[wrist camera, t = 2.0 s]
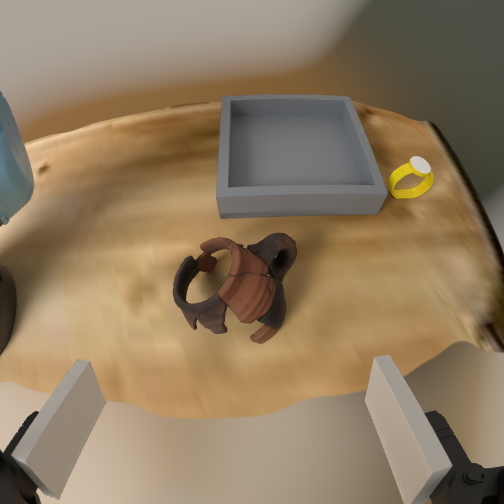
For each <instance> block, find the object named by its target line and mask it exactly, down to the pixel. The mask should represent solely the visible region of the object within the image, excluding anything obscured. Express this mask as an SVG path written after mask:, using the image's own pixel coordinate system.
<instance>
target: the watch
mask: <svg viewBox="0 0 504 504" xmlns="http://www.w3.org/2000/svg"><path fill="white" fill-rule="evenodd" d="M411 173H414V174H416V175H418V176H420V177H426V178H425V180H424V181H423V182H422V183H421V184H419V185H418V186H416V187H414V188H412V189H397V190H395V189H394V187H395V185H396V183H397V182H398V181H399V180H401V179H402V178H403V177H404V176H406V175H409V174H411ZM433 182H434V176H433V173H432V171H431V168H430V165H429V164H428V162H427V161H426V160H424V159H423V158H421V157H418V156H414V157H412V158H411V159H410V161H409V163H407V164H404V165H402V166H401V167H399V168H397V169H396V170H395V171H394V172H393V173H392V174H391V176H390V177H389V179H388V187H389V190H390V192H391V194H392V196H393V197H395V198H396V199H402V198H413V199H415V198H416V197H418V196H420V195H422V194H424V193H425V192H426V191H427V190H428V189H430V187H431V186H432V184H433Z"/></svg>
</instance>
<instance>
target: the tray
mask: <svg viewBox="0 0 504 504" xmlns="http://www.w3.org/2000/svg"><path fill="white" fill-rule="evenodd" d="M387 195H388V193H387V190H386V187H385V184H384V181H383V178H382V176H381V173H380V170H379V167H378V164H377V162H376V159H375V156H374V154H373V151H372V148H371V146H370V143H369V141H368V138H367V136H366V133H365V131H364V128H363V126H362V124H361V121H360V119H359V117H358V114H357V112H356V110H355V107H354V105H353V103H352V101H351V98H350V97H347V96H332V95H331V96H330V95H305V94H304V95H302V94H265V95H239V96H224V97H222V107H221V121H220V137H219V153H218V172H217V192H216V199H217V204H218V209H219V214H220V218H221V219H228V218H251V217H278V216H313V215H376V214H378V212H379V210H380V208H381V207H382V205H383V203H384V201H385V199H386V197H387Z"/></svg>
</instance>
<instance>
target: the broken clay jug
mask: <svg viewBox="0 0 504 504" xmlns="http://www.w3.org/2000/svg"><path fill="white" fill-rule="evenodd" d="M200 248H201V250H203V251H204V252H203V253H202V254H201V255H200V256H199V257H198V258H197V259H196V260H194V258H193V257H192V256H188V257H186V258H185V259H184V261H183V262H182V264H181V265H180V267H179V269H178V271H177V274H176V276H175V279H174V284H173V286H174V288H173V296H174V301H175V303H176V304H177V306H178V307H179V308H181V310H182V312H183V314H184V316H185V318H186V320H187V321H188V323H189V325H190V326H191V327H192V328H193V329H194V330H196V329H197V326H196V321H197V319H198V321H199V322H200V324H202V325H203V326H204V327H205V328H208V329H210V330H211V331H212V332H213V333H215V334H222V333H226V332H227V327H226V326H225V324H224V322H225V312H226V309H227V306H229V307H230V309H231V310H232V311H233V312H234V313H235V315H236V316H237V317H238V319H239V320H240V322H242V323H246V324H250V323H252V322H254V321H255V320H257V321H258V322H261V323H264V324H265V325H264V326H262V327H261V328H260V329H259V330H258V331H257V332H255V333H254V334H252V335H251V336H250V339H251V340H252V341H253V342H257V343H259V344H262V343H264V342H265V341H267V340H268V339H270V338H271V337H272V336H273V335H274V334H275V332H276V331H277V330H278V329H279V327H280V326H281V324H282V322H283V320H284V316H285V312H286V303H285V298H284V293H283V287H282V286H283V285H282V281H283V278H284V276H285V274H286V273H287V271H288V270H289V269H290V267H291V266H292V264H293V263H294V261H295V258H296V255H297V248H296V242H295V241H294V240H293V239H292V238H291V237H289V236H288V235H287V234H285V233H274V234H271V235H269V236H267V237H266V238H264V239H263V240H262V241H260V242H258V243H257V244H253V245H248V246H247V249H246V248H243V245H242V244H237V243H235V242H234V241H232V240H230V239H227V238H222V237H218V238H213V239H210V240H208V241H206V242H204V243H202V244H201V245H200ZM222 249H228V250H230V252H231V255H232V264H231V269H230V272H229V276H228V277H227V279H226V281H225V282H224V284H223V285H222V287H221V288H220V289H219V290H218V291H217V293H216V294H215V295H213V296H212V297H210V298H209V299H207V300H206V301H203V302H200V303H196V304H190V303H188V302H187V301H186V295H187V289H188V286H189V284H190V282H191V281H192V279H193V278H194V277H195V276H196V275H197V274H198V272H199V271H202V272H210V271H212V269H213V268H214V267H215V265H216V263H217V259H216V258H215V257H212V256H211V254H212V253H214V252H216V251H218V250H222ZM277 254H278V255H277ZM276 255H277V257H276V258H275V256H276ZM274 258H275V259H274ZM267 274H269V275H270V276H267Z"/></svg>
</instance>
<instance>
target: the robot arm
mask: <svg viewBox="0 0 504 504" xmlns="http://www.w3.org/2000/svg"><path fill="white" fill-rule="evenodd" d="M33 189H34V179H33V173H32V169H31V165H30V161H29V158H28V155H27V152H26V149H25V146H24V143H23V140H22V137H21V134H20V132H19V129H18V126H17V123H16V121H15V118H14V116H13V114H12V111H11V109H10V107H9V104H8V102H7V101H6V99H5V98H4V97H3V95H2V92H1V91H0V226H2V225H3V224H4V225H6V224H7V223H8V222H9V219H10V218H11V217H12V216H13V215H14V214H16V213H17V212H18V211H19V210H20V209H21V208H22V207H24V206H25V205H26V204H27V203H28V201H29V200H30V199H31V197H32V194H33ZM15 310H16V293H15V286H14V282H13V279H12V277H11V275H10V273H9V272H8V271H7V269H6V268H4V267H3V266H2V265H0V353H1V352H2V350H3V349H4V347H5V345H6V343H7V341H8V339H9V336H10V333H11V330H12V327H13V322H14V317H15ZM365 402H366V405H367V407H368V410H369V412H370V415H371V417H372V420H373V422H374V425H375V427H376V430H377V432H378V435H379V437H380V440H381V443H382V445H383V448H384V451H385V453H386V456H387V458H388V461H389V464H390V467H391V469H392V472H393V475H394V477H395V480H396V483H397V486H398V488H399V491H400V494H401V497H402V500H403V503H404V504H424V503H425V502H426V501H427V500H428V498H429V497H430V499H431V501H432V504H504V466H501V467H495V468H483V467H482V466H481V465H479V464H477V463H471V461H470V460H469V458H468V457H467V455H466V453H465V451H464V450H463V448H462V446H461V444H460V443H459V441H458V439H457V438H456V436H455V435H454V433H453V431H452V429H451V428H450V426H449V425H448V423H447V421H446V419H445V418H444V417H443V416H442V415H441V414H439V413H438V412H437V411H431V412H427V413H424V412H423V411H422V409H421V407H420V405H419V404H418V402H417V400H416V398H415V397H414V395H413V393H412V392H411V390H410V388H409V386H408V385H407V383H406V381H405V380H404V378H403V376H402V375H401V373H400V371H399V370H398V368H397V366H396V365H395V363H394V362H393V360H392V358H391V357H390V355H384V356H377V357H374V360H373V365H372V370H371V375H370V380H369V384H368V389H367V393H366V398H365ZM105 404H106V401H105V399H104V396H103V394H102V391H101V389H100V386H99V384H98V381H97V379H96V376H95V373H94V371H93V368H92V365H91V362H90V361H85V360H77V361H76V362H75V364H74V365H73V366H72V368H71V369H70V370H69V372H68V373H67V374H66V376H65V377H64V378H63V380H62V381H61V382H60V384H59V385H58V387H57V388H56V389H55V391H54V392H53V394H52V395H51V396H50V398H49V399H48V401H47V402H46V404H45V405H44V406H43V408H42V409H41V411H40V412H38V411H35V412H33V413H32V414H31V415H29V416H28V417H27V419H26V420H25V421H24V423H23V424H22V427H20V428H19V430H18V432H17V433H16V434H15V436H14V437H13V439H12V440H11V442H10V443H9V445H8V446H7V448H6V449H5V451H4V452H3V453H2V451H1V450H0V504H41V502H40V499H39V496H38V494H37V493H36V490H37V488H39V489H40V490H41V491H42V492H43V493H44V494H45V495H47V496H50V497H52V498H55V499H57V500H59V498H60V496H61V493H62V492H63V489H64V487H65V485H66V483H67V480H68V479H69V476H70V474H71V472H72V470H73V468H74V466H75V464H76V462H77V459H78V457H79V455H80V453H81V451H82V449H83V447H84V445H85V443H86V441H87V439H88V437H89V435H90V433H91V431H92V429H93V427H94V425H95V423H96V421H97V419H98V417H99V415H100V413H101V411H102V409H103V408H104V406H105Z"/></svg>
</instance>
